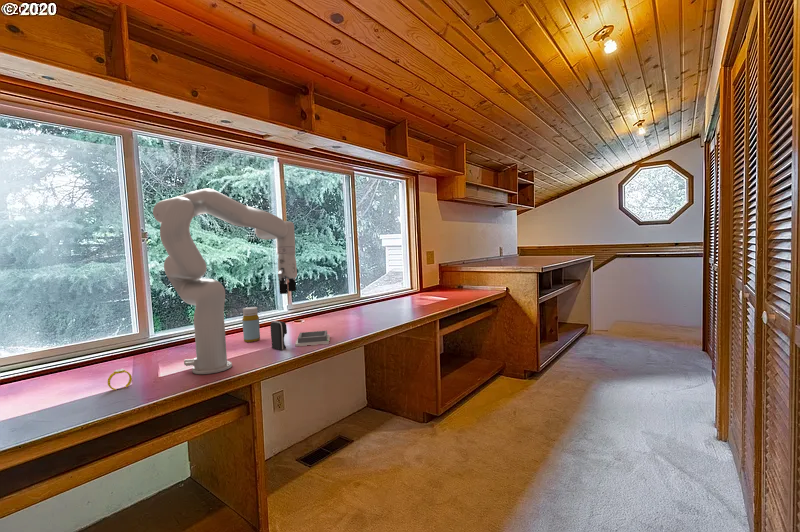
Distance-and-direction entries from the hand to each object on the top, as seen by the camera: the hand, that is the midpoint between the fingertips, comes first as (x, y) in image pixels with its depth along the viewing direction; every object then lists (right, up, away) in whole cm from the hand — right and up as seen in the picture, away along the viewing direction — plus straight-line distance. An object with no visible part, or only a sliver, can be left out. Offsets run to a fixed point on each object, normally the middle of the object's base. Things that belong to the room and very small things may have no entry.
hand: (288, 292), depth 165 cm
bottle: (-21, -23, +16) cm, 35 cm away
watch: (-39, -27, -43) cm, 64 cm away
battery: (-3, -23, -2) cm, 24 cm away
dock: (+9, -22, +8) cm, 25 cm away
